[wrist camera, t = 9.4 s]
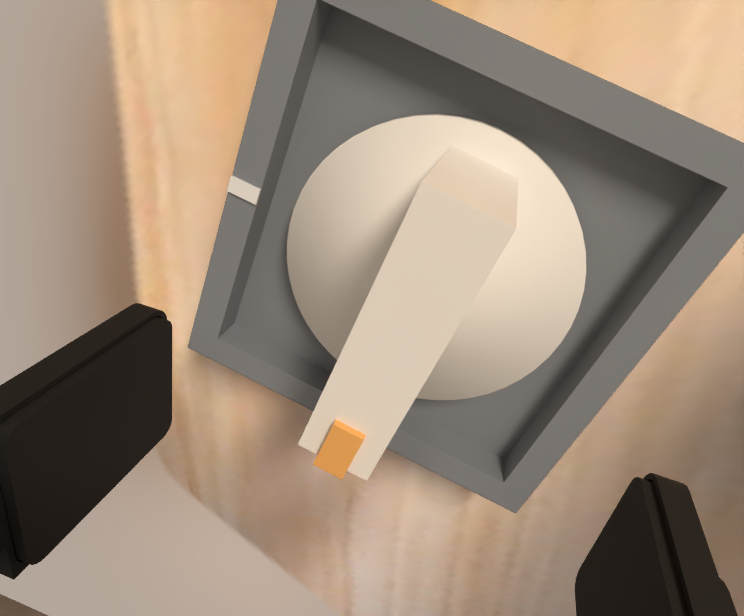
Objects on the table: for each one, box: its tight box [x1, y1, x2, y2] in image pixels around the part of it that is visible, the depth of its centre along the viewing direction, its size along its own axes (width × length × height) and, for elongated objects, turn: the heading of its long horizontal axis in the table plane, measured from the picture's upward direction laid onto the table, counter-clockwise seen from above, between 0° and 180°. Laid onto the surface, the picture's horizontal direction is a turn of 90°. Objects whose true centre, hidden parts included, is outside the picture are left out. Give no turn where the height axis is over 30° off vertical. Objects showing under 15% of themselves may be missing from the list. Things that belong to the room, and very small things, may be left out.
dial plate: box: [188, 0, 744, 513], centre depth 21 cm, size 16×16×4 cm
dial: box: [287, 113, 586, 481], centre depth 17 cm, size 11×11×7 cm
